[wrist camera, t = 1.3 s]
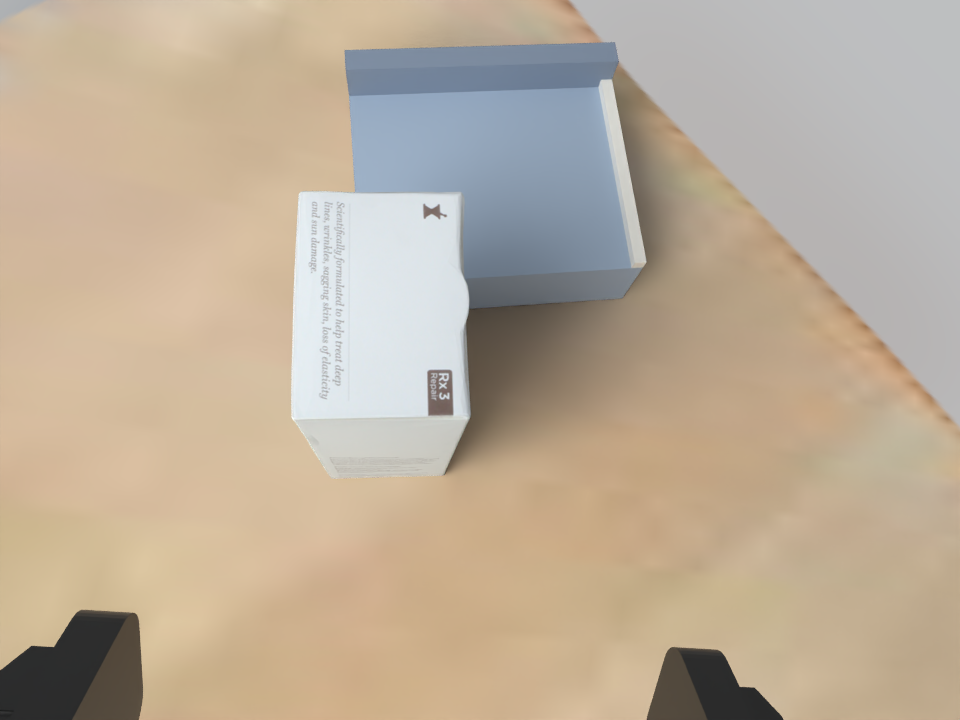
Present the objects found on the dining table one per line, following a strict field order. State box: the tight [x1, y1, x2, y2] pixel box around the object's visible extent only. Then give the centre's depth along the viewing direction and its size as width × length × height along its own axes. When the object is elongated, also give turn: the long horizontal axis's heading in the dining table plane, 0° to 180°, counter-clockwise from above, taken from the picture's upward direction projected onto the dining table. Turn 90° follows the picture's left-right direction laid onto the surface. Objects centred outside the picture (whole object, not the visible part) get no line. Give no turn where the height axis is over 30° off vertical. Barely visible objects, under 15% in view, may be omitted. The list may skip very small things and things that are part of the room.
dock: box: [345, 42, 646, 309], centre depth 39 cm, size 14×12×6 cm
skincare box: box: [291, 191, 471, 479], centre depth 31 cm, size 8×6×15 cm
